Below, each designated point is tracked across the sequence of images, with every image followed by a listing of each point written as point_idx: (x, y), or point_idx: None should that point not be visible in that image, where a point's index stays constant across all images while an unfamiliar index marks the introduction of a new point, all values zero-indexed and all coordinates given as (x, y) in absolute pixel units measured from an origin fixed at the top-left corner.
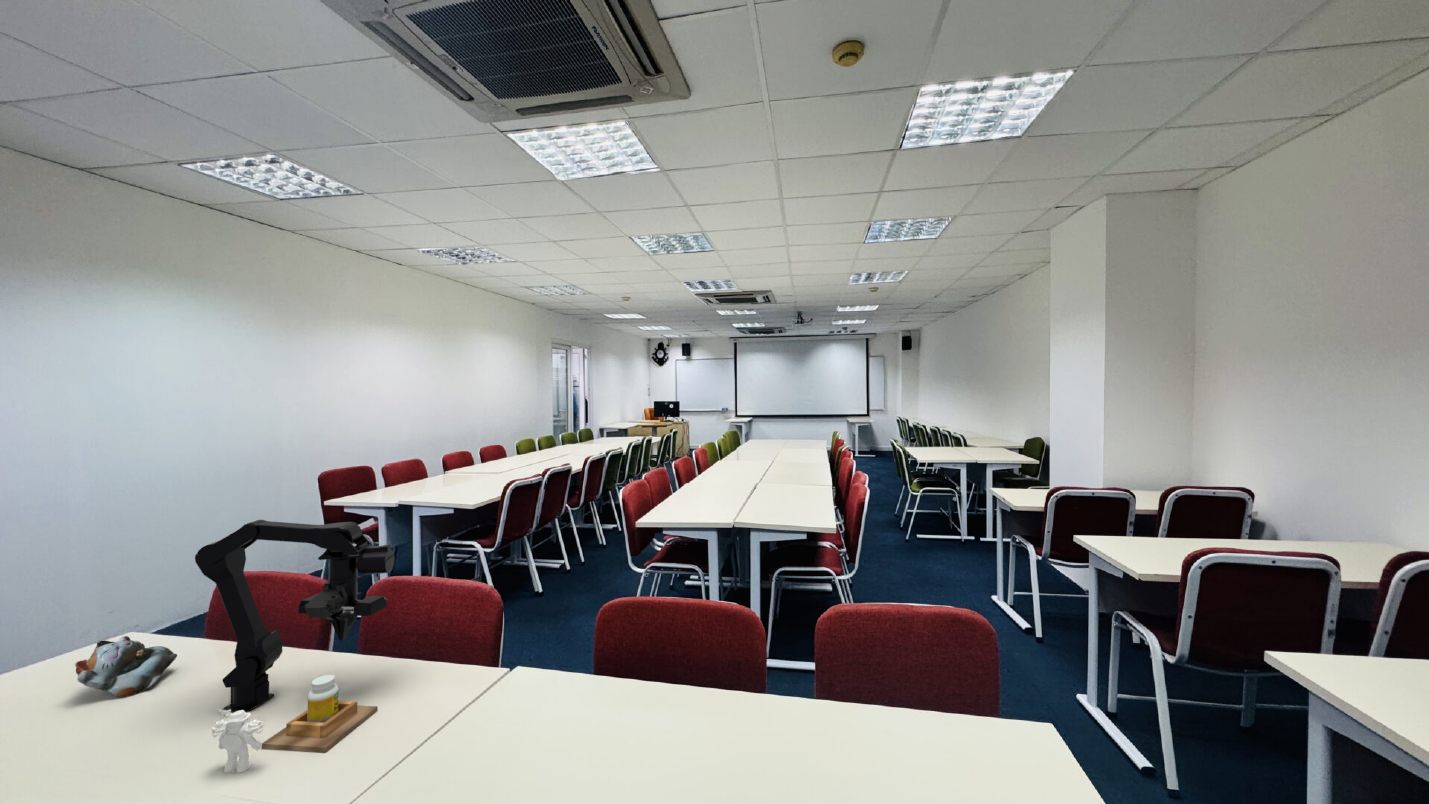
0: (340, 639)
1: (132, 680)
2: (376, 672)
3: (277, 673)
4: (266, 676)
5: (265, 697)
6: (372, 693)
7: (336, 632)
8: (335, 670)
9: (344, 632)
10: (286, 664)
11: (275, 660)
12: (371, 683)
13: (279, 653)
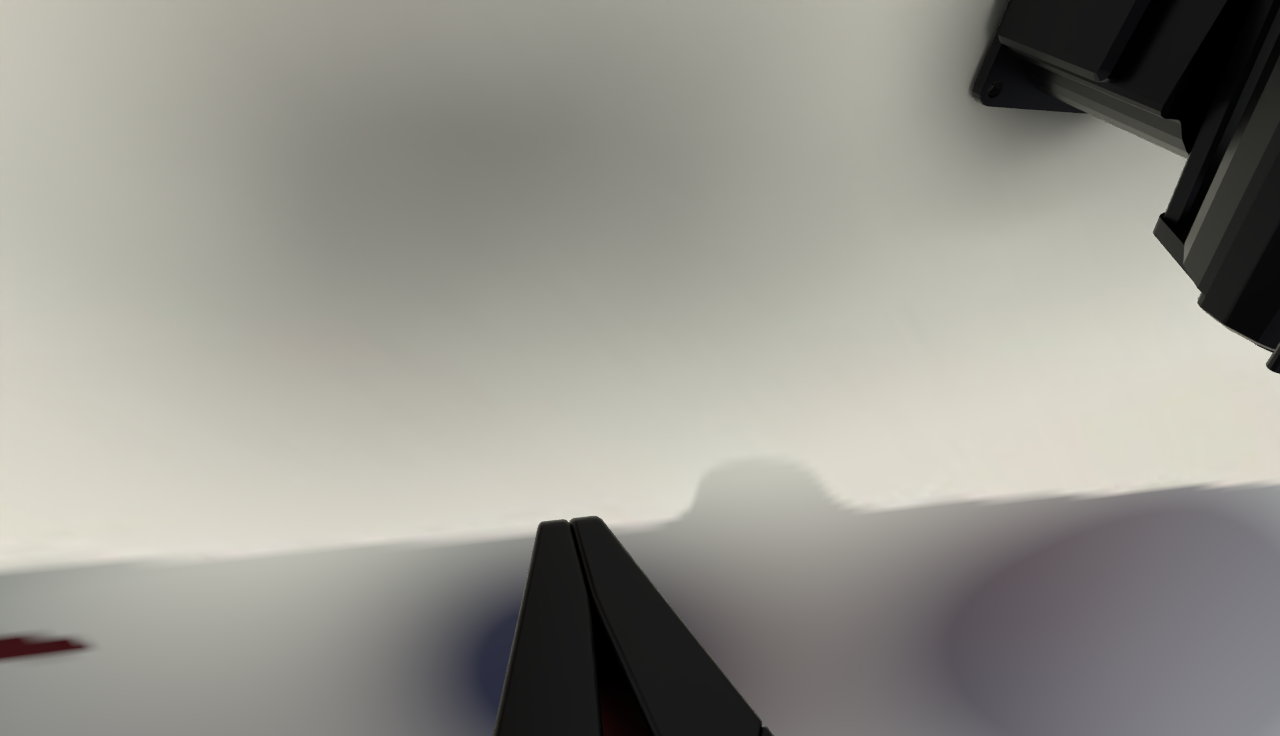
0: (575, 528)
1: None
2: (458, 415)
3: (1040, 331)
4: (1160, 87)
5: (1026, 4)
6: (194, 172)
7: (674, 635)
8: (744, 396)
9: (506, 672)
10: (1025, 402)
11: (1201, 219)
12: (363, 303)
13: (1230, 271)
